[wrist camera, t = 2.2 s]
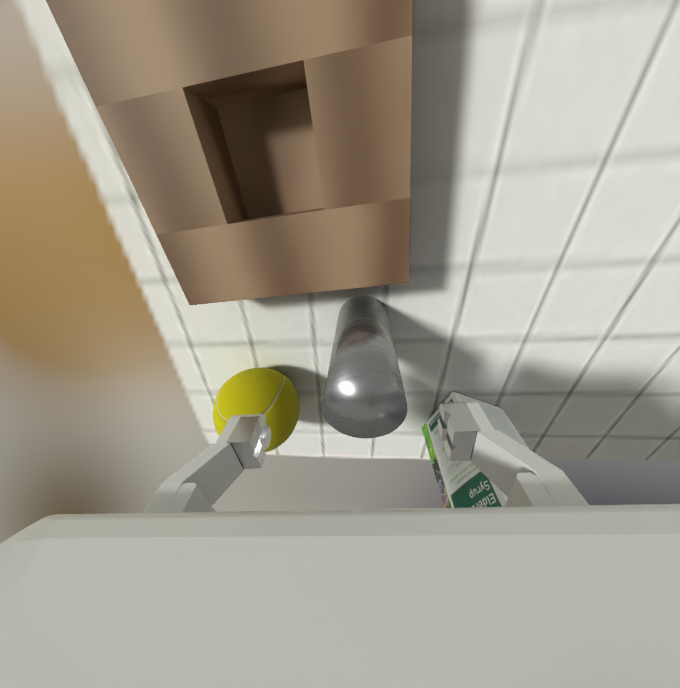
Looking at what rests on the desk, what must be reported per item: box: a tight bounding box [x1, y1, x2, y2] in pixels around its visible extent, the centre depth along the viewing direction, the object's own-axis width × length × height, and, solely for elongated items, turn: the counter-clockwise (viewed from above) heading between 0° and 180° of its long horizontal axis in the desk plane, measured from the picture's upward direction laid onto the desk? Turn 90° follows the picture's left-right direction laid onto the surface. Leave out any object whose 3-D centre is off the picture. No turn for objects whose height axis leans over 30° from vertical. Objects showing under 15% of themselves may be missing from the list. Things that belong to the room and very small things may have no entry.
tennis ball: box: [213, 368, 300, 452], centre depth 22 cm, size 7×7×7 cm
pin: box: [322, 296, 407, 438], centre depth 16 cm, size 4×4×10 cm
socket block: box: [46, 0, 413, 305], centre depth 13 cm, size 14×14×4 cm
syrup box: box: [422, 392, 530, 508], centre depth 19 cm, size 6×6×14 cm
